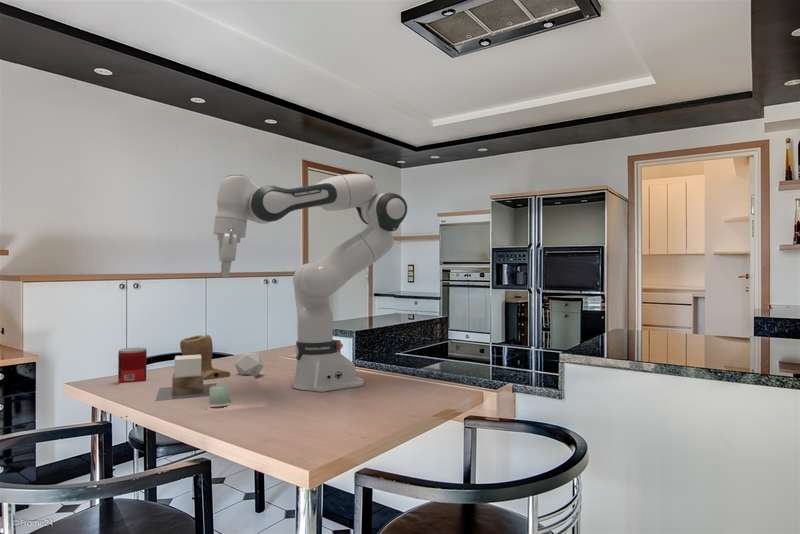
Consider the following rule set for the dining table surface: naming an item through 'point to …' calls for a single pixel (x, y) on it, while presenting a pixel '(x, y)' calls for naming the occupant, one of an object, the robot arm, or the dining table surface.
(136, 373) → the red box
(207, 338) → the tan boot
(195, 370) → the cream block
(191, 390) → the walnut block
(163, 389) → the slate coaster
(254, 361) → the die
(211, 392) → the sage cylinder
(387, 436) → the dining table surface
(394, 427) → the dining table surface
